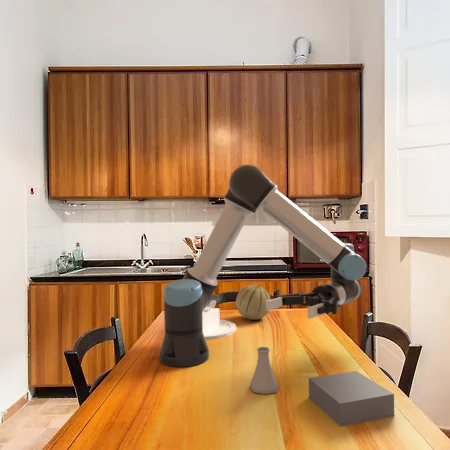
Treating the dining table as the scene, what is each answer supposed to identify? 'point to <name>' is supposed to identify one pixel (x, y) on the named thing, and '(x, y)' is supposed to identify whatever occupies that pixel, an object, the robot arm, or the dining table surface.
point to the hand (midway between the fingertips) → (286, 309)
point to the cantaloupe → (252, 302)
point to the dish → (215, 323)
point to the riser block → (351, 398)
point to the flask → (263, 374)
